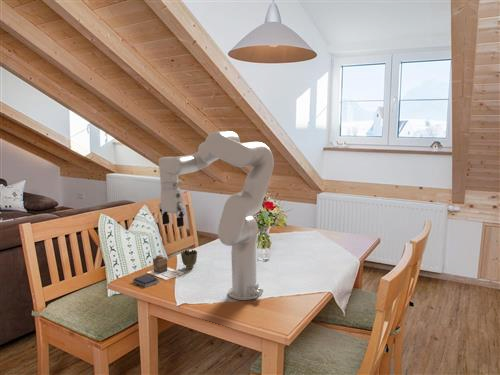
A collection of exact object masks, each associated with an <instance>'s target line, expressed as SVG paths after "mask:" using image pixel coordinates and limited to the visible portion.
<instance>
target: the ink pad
mask: <svg viewBox="0 0 500 375" xmlns="http://www.w3.org/2000/svg"><path fill="white" fill-rule="evenodd" d="M132 283H133V284H136V285H138V286H140V287H143V288H148V287H151V286H153V285H155V284H158V283H160V279H158V277H156V276H153V275H150V274H148V273H147V274H142V275H139V276H137V277H134V278H133V279H132Z"/></svg>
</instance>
